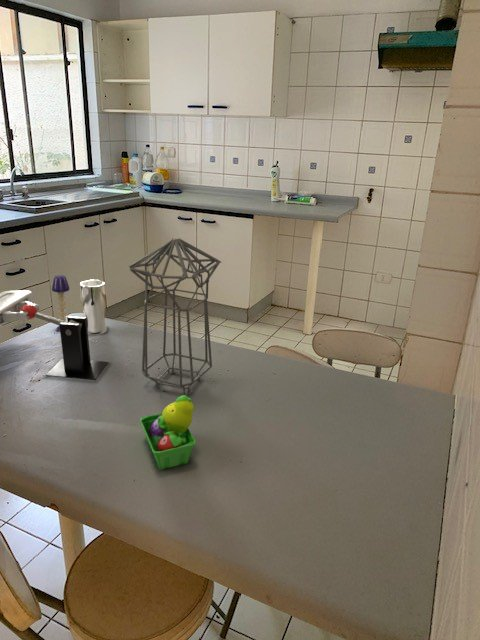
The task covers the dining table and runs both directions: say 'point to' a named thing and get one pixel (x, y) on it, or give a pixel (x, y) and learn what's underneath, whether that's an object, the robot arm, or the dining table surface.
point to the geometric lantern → (163, 251)
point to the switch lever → (33, 313)
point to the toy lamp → (60, 295)
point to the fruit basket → (171, 433)
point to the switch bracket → (76, 353)
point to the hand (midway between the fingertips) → (32, 312)
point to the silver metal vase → (94, 305)
